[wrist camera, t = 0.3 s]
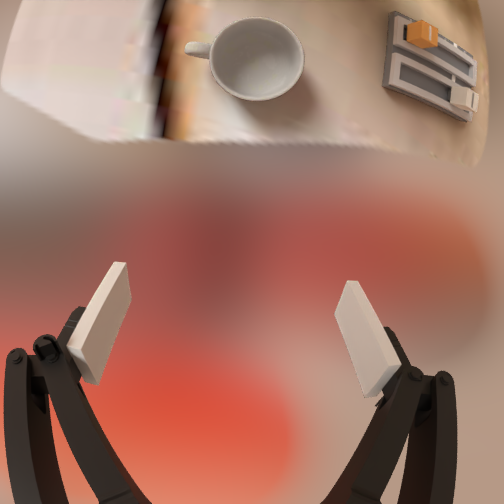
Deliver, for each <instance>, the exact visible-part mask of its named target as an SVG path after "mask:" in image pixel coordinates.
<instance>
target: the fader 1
mask: <svg viewBox="0 0 504 504" xmlns="http://www.w3.org/2000/svg"><path fill="white" fill-rule="evenodd" d="M404 39H405V40H407V41H408V42H410V43H412V44H414V45H416V46H418V47H420V48H422V49H423V48H430V47H437V46H438V29H437V28H435V27H434V26H432V25H430V24H428V23H427V22H425V21H423V20H420V21H417V22H414V23H410V24H407V29H406V30H405V37H404Z"/></svg>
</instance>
